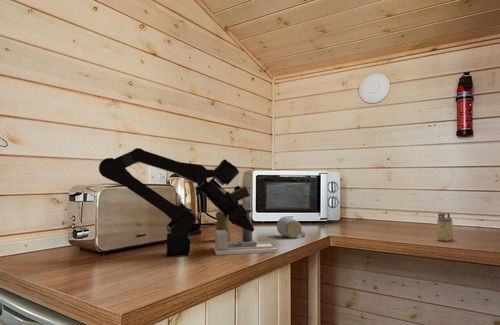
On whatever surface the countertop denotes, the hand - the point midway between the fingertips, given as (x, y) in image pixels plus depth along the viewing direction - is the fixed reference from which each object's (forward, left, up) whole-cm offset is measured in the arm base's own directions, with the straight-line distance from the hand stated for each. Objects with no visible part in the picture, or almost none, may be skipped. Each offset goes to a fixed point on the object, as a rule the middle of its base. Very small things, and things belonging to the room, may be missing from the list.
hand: (251, 229), depth 108 cm
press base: (-2, 0, -7) cm, 7 cm away
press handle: (-1, 0, -5) cm, 5 cm away
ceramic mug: (+21, +20, -7) cm, 30 cm away
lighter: (+75, +2, -7) cm, 75 cm away
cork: (-7, +17, -7) cm, 20 cm away
